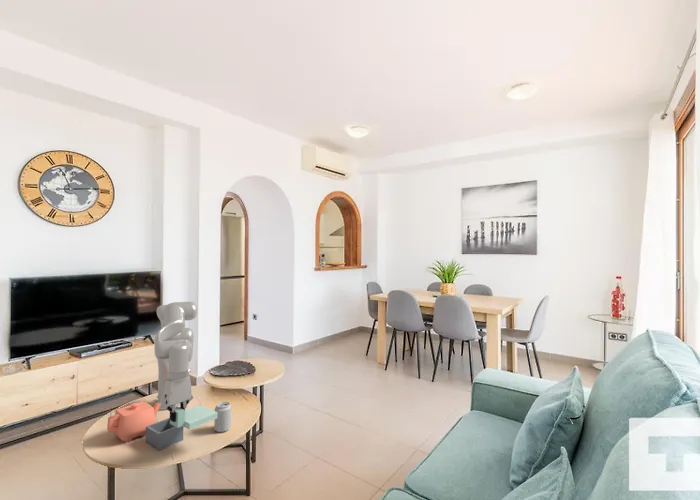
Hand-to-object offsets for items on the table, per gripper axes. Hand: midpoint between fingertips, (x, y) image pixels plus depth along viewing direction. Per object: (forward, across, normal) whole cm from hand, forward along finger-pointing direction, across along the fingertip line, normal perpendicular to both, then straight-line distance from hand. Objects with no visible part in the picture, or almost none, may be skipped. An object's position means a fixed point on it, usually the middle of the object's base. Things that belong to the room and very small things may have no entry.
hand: (177, 418), depth 147 cm
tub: (+15, -3, -16) cm, 22 cm away
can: (+15, -25, -5) cm, 30 cm away
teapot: (+15, +2, -32) cm, 35 cm away
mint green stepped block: (+3, -6, 0) cm, 7 cm away
